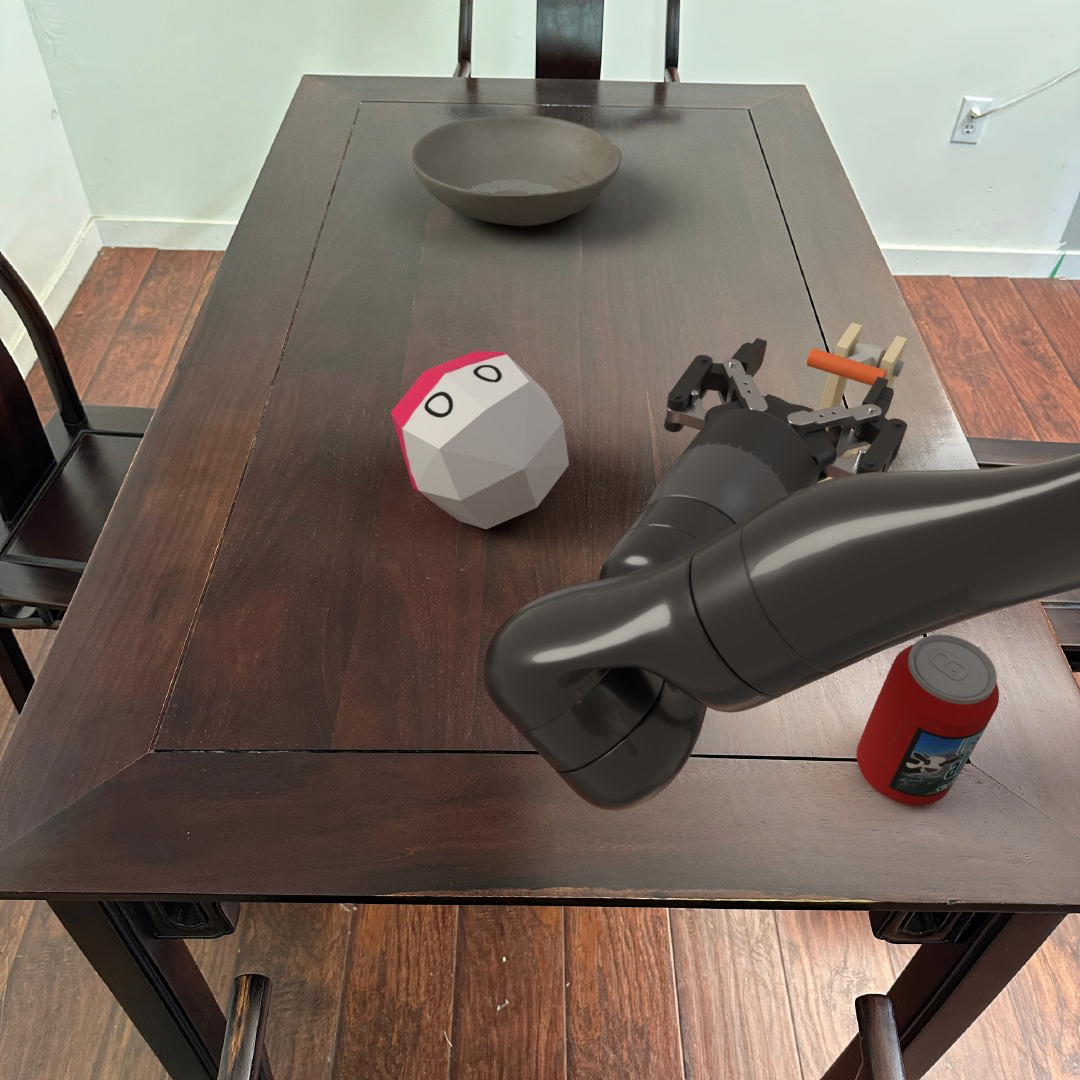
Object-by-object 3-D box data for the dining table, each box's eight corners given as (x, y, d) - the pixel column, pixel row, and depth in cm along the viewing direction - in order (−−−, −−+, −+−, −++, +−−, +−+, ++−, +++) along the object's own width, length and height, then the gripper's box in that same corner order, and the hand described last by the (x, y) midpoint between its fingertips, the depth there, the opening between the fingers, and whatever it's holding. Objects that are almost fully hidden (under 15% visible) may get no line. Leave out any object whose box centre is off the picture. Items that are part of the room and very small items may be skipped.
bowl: (623, 258, 124) (629, 196, 118) (406, 255, 124) (400, 193, 118) (612, 170, 144) (616, 113, 138) (424, 167, 144) (420, 109, 138)
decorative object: (471, 301, 88) (560, 344, 77) (532, 425, 97) (619, 479, 86) (338, 396, 85) (411, 455, 74) (415, 515, 94) (489, 583, 83)
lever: (876, 395, 75) (887, 365, 74) (802, 371, 77) (812, 342, 76) (898, 381, 85) (908, 355, 84) (832, 361, 87) (841, 335, 87)
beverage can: (912, 830, 66) (969, 728, 58) (833, 764, 70) (876, 659, 62) (968, 776, 69) (1030, 672, 61) (889, 716, 73) (938, 610, 65)
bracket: (859, 525, 88) (904, 392, 78) (767, 491, 92) (798, 358, 81) (896, 455, 96) (942, 325, 86) (809, 426, 99) (843, 297, 89)
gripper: (863, 497, 51) (940, 353, 61) (622, 409, 56) (730, 290, 66) (830, 594, 56) (906, 447, 66) (612, 506, 61) (714, 382, 71)
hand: (818, 369), depth 66 cm, fingers open, 8 cm apart
